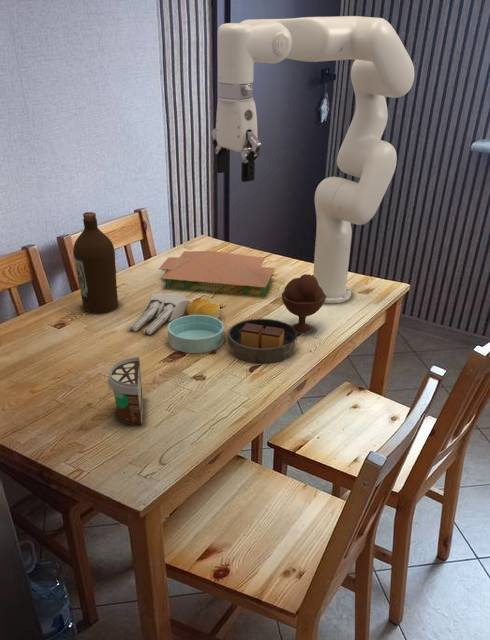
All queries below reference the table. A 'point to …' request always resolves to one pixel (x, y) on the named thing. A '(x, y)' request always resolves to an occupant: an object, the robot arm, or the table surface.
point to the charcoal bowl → (259, 353)
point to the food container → (127, 390)
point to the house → (218, 270)
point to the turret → (161, 310)
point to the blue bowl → (195, 333)
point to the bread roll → (204, 308)
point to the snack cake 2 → (272, 337)
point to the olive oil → (95, 267)
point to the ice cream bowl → (303, 299)
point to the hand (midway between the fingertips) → (235, 176)
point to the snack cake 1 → (251, 335)
